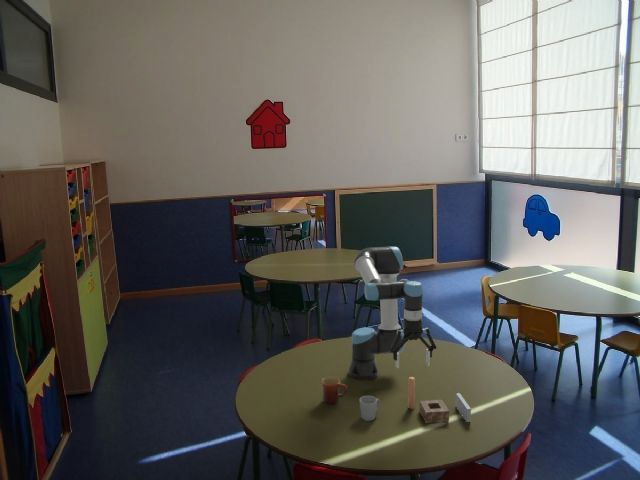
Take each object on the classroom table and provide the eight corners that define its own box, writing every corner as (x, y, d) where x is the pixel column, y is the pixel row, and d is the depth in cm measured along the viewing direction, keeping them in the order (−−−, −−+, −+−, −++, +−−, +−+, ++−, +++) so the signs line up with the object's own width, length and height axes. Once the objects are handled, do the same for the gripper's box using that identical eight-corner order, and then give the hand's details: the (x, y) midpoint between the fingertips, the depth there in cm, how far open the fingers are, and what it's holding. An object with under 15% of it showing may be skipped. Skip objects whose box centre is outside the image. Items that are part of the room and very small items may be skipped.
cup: (356, 416, 238) (355, 398, 236) (374, 410, 243) (374, 392, 242) (366, 424, 232) (366, 405, 230) (385, 417, 237) (385, 399, 235)
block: (425, 423, 231) (426, 412, 230) (419, 411, 241) (419, 401, 240) (449, 421, 232) (449, 410, 231) (441, 409, 242) (442, 399, 241)
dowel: (409, 409, 243) (409, 379, 241) (407, 406, 246) (407, 377, 243) (415, 408, 244) (415, 379, 241) (413, 405, 246) (414, 376, 244)
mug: (319, 405, 249) (318, 384, 247) (325, 396, 257) (324, 375, 255) (344, 408, 245) (344, 387, 243) (349, 399, 253) (349, 379, 251)
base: (466, 423, 231) (467, 409, 230) (455, 406, 244) (456, 393, 243) (470, 422, 231) (470, 408, 230) (459, 406, 245) (459, 393, 243)
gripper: (386, 323, 225) (386, 371, 229) (444, 319, 229) (443, 366, 233) (381, 317, 233) (382, 364, 237) (438, 313, 236) (437, 360, 240)
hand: (412, 365), depth 235 cm, fingers open, 13 cm apart
